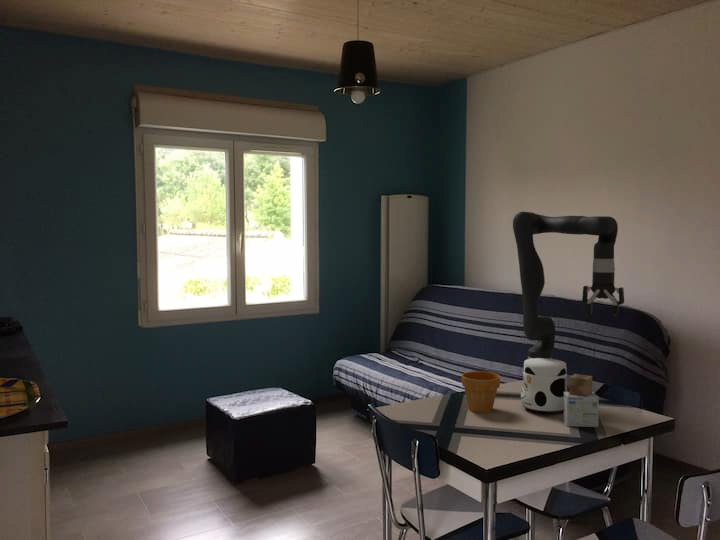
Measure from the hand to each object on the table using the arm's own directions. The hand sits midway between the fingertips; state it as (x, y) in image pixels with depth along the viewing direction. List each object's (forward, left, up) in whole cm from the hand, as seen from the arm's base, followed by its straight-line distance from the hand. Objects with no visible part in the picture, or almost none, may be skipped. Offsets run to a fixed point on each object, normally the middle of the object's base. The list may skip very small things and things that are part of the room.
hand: (602, 314), depth 226 cm
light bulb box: (-2, -20, -36) cm, 42 cm away
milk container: (-18, -10, -36) cm, 42 cm away
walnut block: (-2, -20, -25) cm, 32 cm away
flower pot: (-38, -23, -36) cm, 57 cm away
